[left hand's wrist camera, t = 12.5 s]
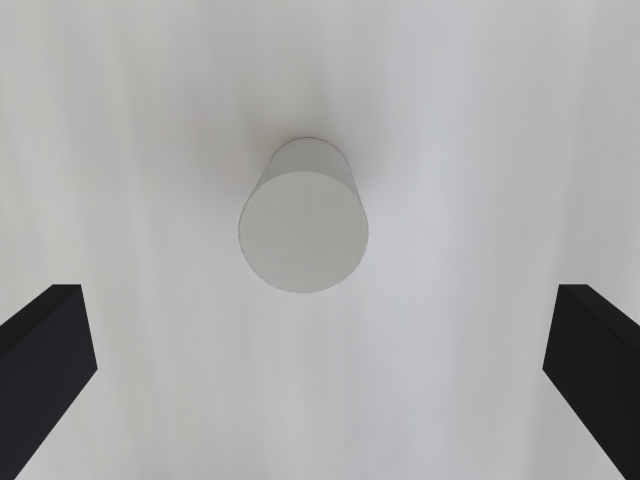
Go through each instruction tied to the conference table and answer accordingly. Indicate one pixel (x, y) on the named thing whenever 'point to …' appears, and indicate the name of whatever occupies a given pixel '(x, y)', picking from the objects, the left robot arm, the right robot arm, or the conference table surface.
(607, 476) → the conference table surface
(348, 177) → the cylinder
